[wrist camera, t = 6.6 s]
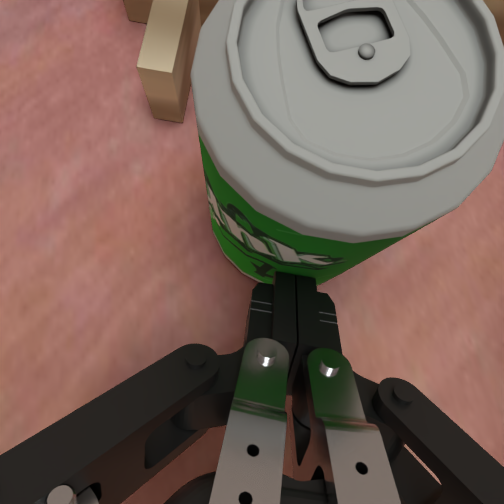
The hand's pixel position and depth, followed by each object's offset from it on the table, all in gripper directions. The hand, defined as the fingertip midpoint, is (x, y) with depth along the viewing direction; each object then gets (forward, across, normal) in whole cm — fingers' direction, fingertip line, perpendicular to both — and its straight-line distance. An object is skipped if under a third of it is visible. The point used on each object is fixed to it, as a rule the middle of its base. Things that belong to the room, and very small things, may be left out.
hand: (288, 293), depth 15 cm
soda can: (+6, 0, 0) cm, 6 cm away
